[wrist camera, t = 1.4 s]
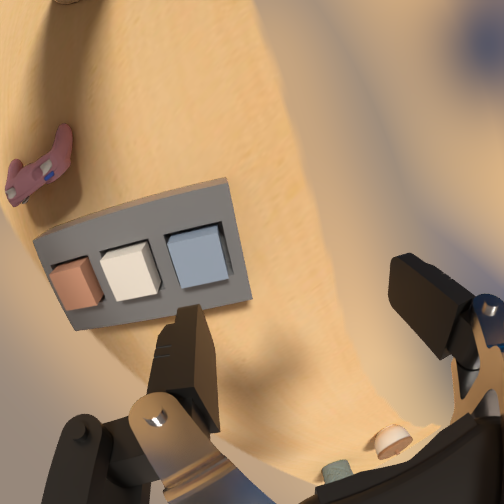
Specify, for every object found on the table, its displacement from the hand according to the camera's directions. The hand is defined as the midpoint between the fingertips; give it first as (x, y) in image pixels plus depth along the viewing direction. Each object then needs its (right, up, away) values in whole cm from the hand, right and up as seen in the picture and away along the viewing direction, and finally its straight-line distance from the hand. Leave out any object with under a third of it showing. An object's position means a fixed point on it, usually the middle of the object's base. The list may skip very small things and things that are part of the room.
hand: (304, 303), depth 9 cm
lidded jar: (+36, -49, +48) cm, 77 cm away
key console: (-14, +1, +19) cm, 24 cm away
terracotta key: (-21, -1, +16) cm, 26 cm away
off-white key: (-14, 0, +16) cm, 21 cm away
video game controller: (-25, +12, +14) cm, 31 cm away
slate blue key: (-7, +2, +17) cm, 18 cm away
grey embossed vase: (+24, -66, +53) cm, 88 cm away
